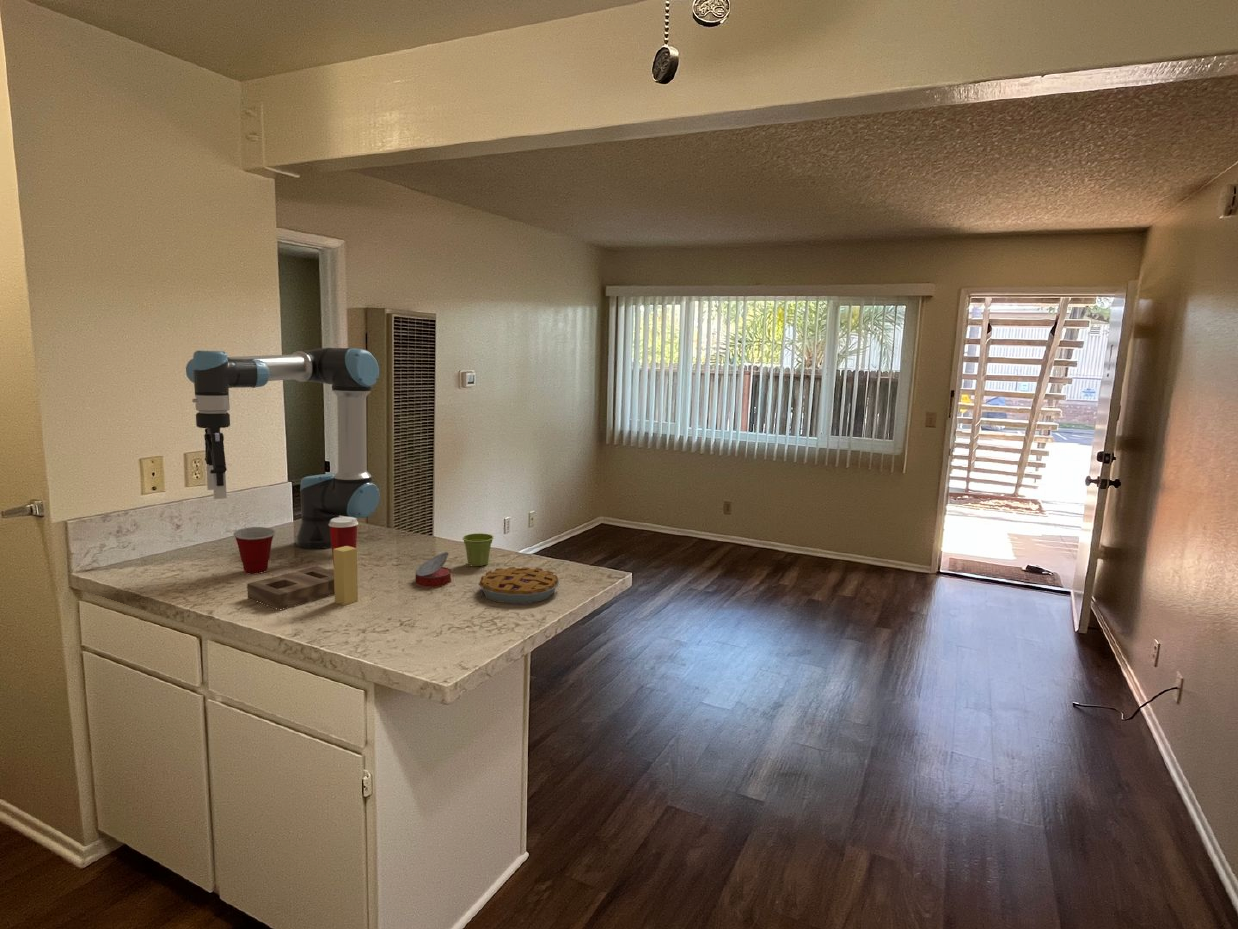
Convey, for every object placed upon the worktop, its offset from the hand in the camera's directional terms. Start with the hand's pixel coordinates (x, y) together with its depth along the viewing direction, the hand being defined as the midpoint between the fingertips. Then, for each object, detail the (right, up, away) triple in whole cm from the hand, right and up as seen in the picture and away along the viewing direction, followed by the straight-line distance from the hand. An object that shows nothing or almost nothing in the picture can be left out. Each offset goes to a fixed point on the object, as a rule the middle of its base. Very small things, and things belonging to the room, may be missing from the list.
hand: (216, 493), depth 183 cm
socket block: (+20, -27, +4) cm, 33 cm away
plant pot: (+61, -23, +36) cm, 74 cm away
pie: (+77, -28, +11) cm, 82 cm away
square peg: (+34, -28, 0) cm, 44 cm away
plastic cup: (-1, -24, +22) cm, 32 cm away
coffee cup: (+23, -24, +27) cm, 42 cm away
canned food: (+51, -26, +18) cm, 60 cm away
